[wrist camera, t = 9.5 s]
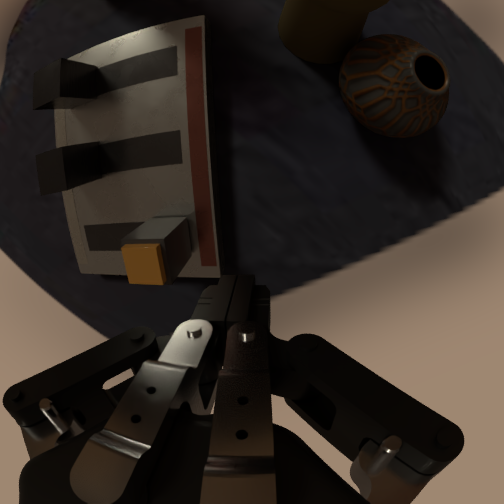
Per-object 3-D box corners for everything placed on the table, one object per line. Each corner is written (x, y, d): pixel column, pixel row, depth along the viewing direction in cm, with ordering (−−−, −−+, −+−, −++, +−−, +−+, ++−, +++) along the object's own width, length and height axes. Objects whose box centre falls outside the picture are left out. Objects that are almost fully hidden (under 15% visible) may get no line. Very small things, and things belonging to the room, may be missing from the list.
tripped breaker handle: (187, 216, 20) (159, 242, 15) (191, 255, 21) (168, 289, 16) (149, 218, 20) (115, 243, 15) (155, 255, 21) (126, 287, 16)
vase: (372, 154, 19) (428, 169, 11) (311, 83, 17) (332, 48, 9) (429, 106, 16) (499, 101, 8) (373, 37, 15) (421, -7, 7)
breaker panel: (210, 24, 16) (185, -12, 10) (225, 266, 23) (207, 310, 17) (68, 67, 17) (21, 60, 11) (91, 264, 25) (53, 296, 19)
